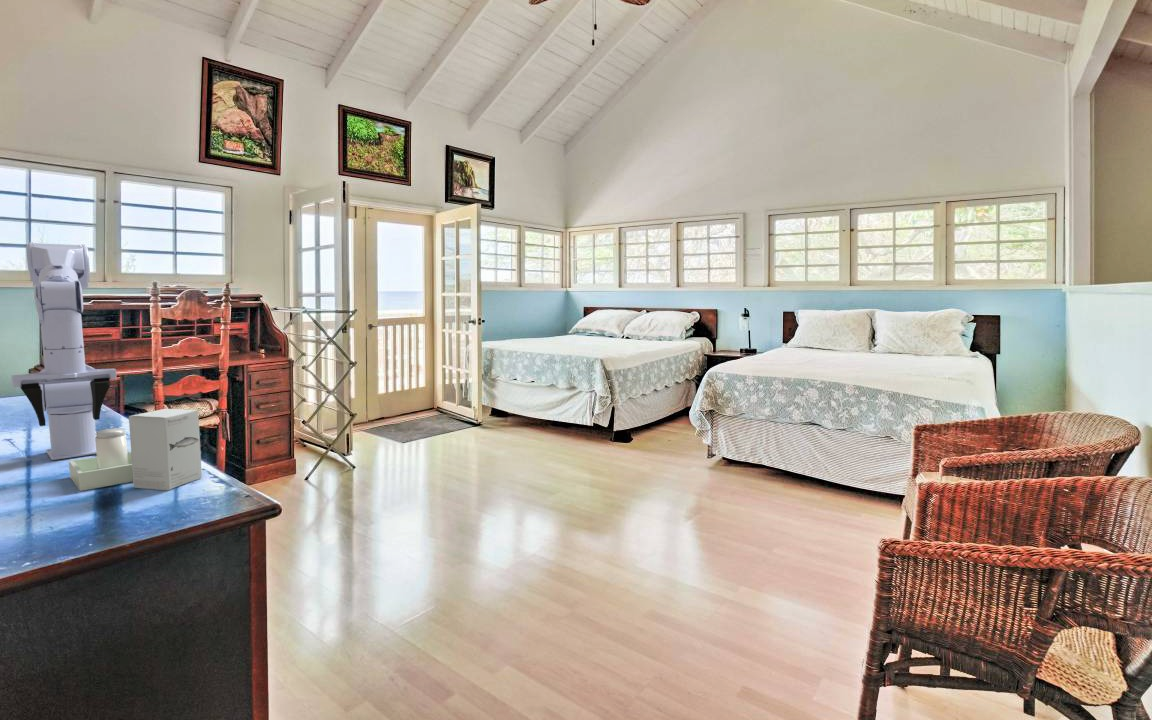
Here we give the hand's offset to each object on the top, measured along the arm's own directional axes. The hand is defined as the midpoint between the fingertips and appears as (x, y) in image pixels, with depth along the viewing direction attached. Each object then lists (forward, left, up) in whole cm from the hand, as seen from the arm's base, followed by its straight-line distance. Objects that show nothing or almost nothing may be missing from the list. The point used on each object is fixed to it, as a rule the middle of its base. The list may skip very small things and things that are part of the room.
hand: (70, 421), depth 112 cm
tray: (+9, +5, -9) cm, 14 cm away
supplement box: (+20, +11, -10) cm, 25 cm away
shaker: (+9, +5, -9) cm, 13 cm away
